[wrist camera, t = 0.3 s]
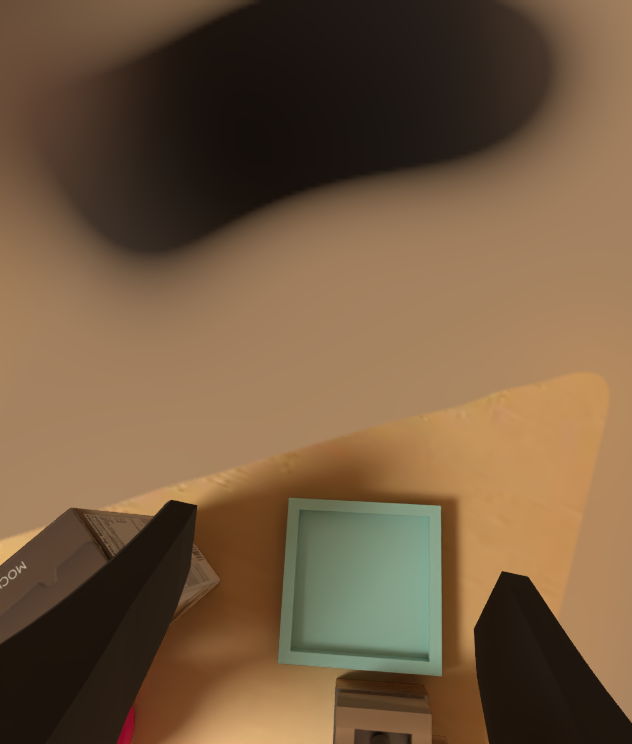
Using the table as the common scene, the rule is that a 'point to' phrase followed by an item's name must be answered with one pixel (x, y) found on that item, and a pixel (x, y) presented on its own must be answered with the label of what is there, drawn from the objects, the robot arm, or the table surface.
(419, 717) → the ring
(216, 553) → the table surface
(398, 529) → the tray
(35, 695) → the robot arm
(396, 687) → the block
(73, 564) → the coffee box
